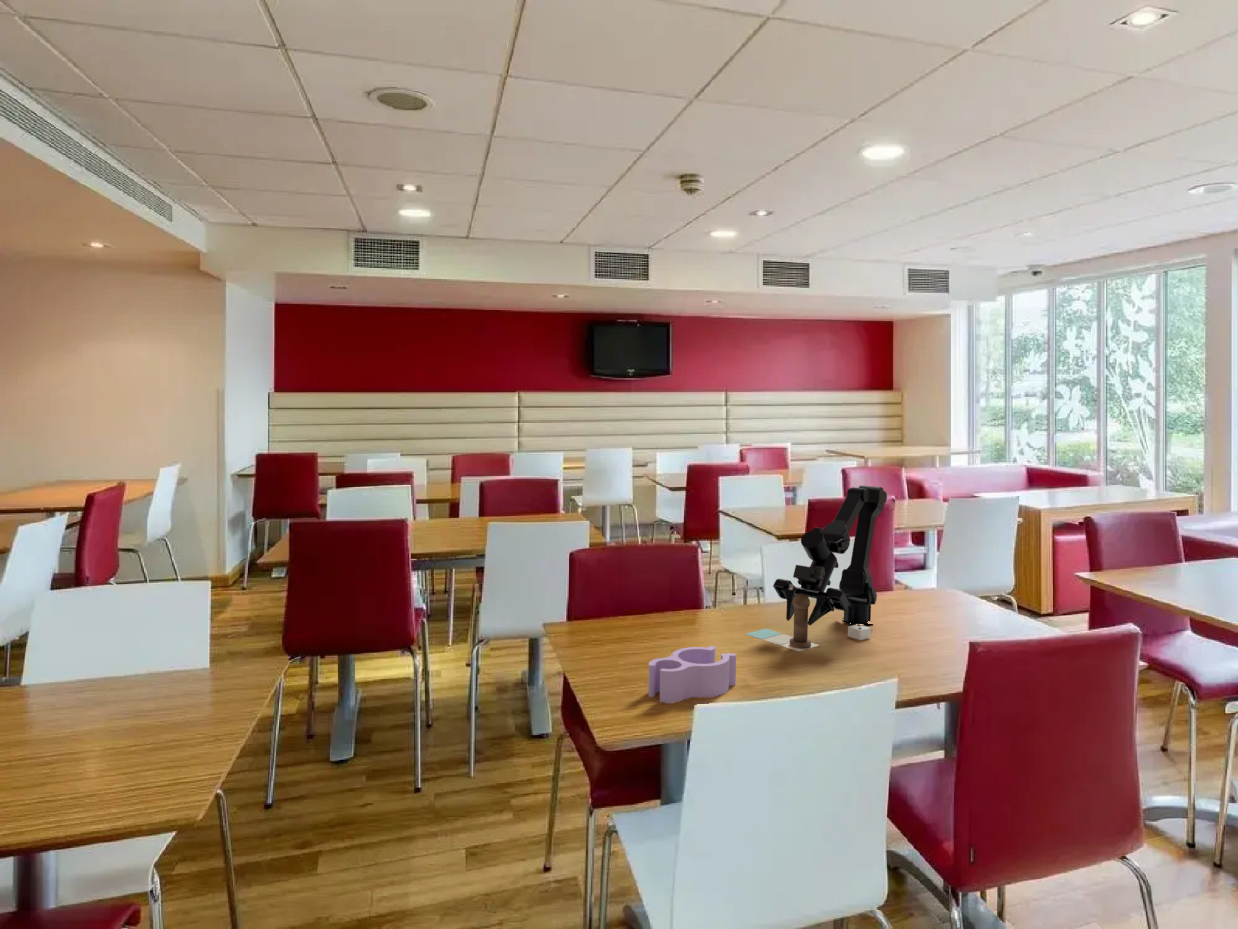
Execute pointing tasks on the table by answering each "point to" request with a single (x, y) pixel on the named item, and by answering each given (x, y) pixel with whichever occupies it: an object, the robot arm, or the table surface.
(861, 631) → the die
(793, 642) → the pawn
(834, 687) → the table surface
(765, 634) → the board
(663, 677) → the clip
